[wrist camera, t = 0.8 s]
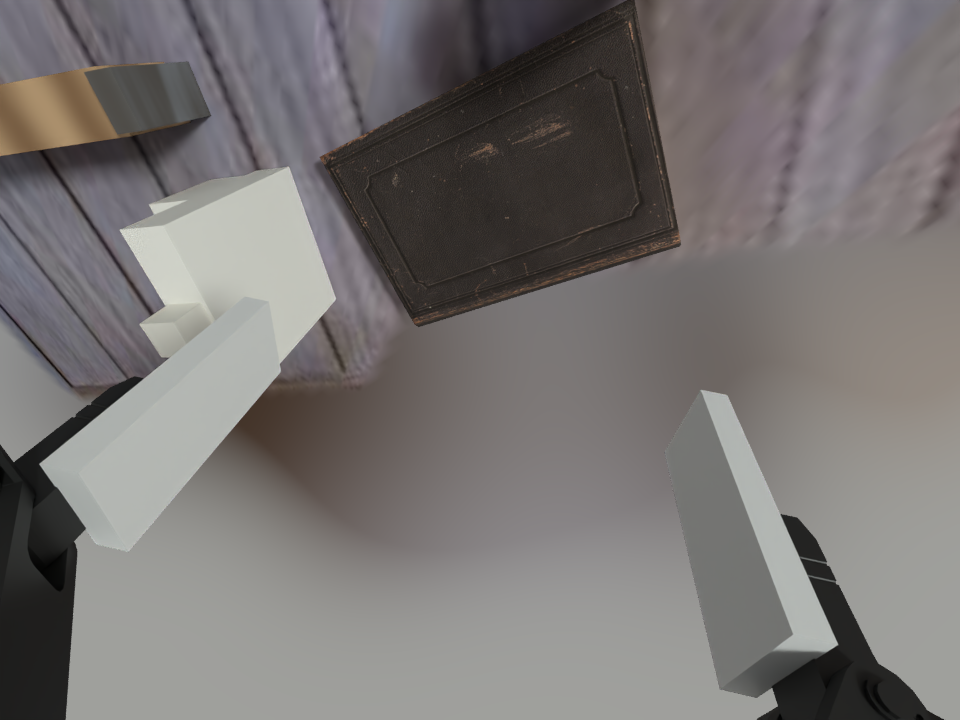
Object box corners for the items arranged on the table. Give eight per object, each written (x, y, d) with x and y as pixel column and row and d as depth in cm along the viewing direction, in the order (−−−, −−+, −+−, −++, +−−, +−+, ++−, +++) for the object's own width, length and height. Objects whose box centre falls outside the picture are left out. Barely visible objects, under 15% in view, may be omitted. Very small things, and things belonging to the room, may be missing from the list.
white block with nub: (209, 176, 37) (17, 251, 24) (288, 166, 36) (129, 241, 23) (267, 302, 44) (141, 415, 31) (336, 299, 43) (234, 415, 30)
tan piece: (15, 149, 39) (-77, 168, 33) (-20, 96, 37) (-126, 107, 31) (212, 119, 35) (144, 134, 29) (186, 57, 32) (107, 62, 27)
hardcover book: (332, 151, 35) (319, 157, 33) (629, -1, 27) (633, -4, 25) (424, 317, 43) (417, 330, 41) (676, 238, 35) (682, 249, 33)
